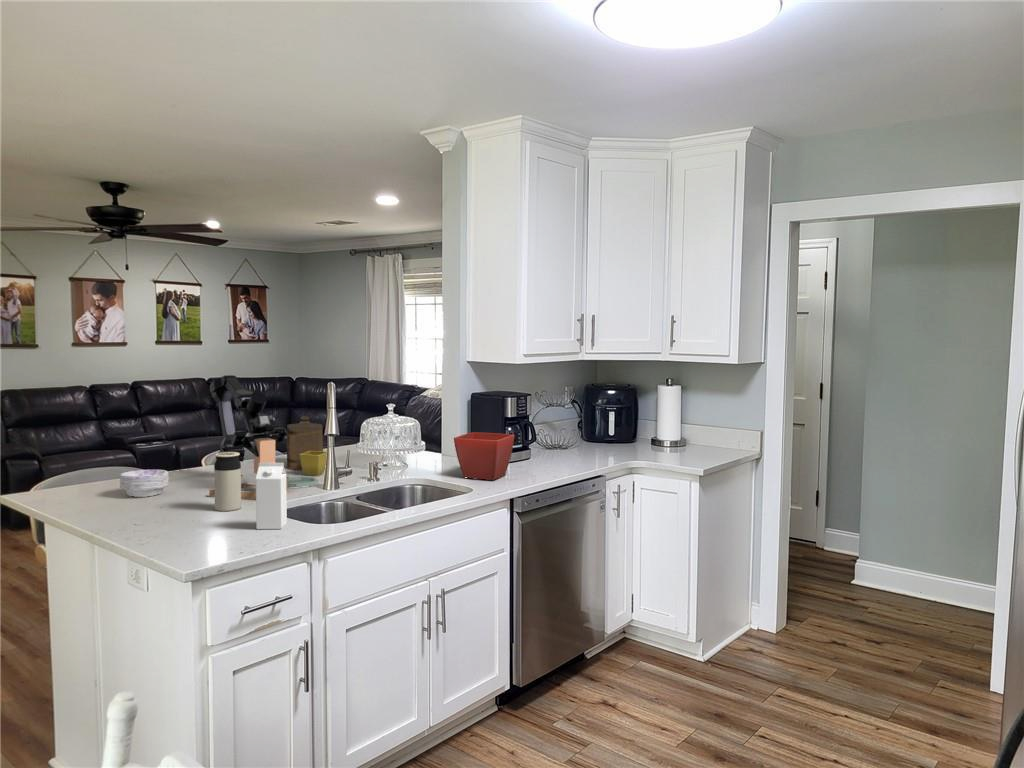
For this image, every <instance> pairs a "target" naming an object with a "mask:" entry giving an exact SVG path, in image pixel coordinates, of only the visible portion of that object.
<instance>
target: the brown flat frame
mask: <svg viewBox="0 0 1024 768" xmlns="http://www.w3.org/2000/svg"><path fill="white" fill-rule="evenodd" d="M289 478H290V477H289V476H286V488H288V487H289ZM243 486H244V487H253V488H252V491H247V490H246V491H245V490H244V491H241V500H246V501H247V500H249V501H256V483H255V484H254V483H252V484H251V483H248V482H241V488H244V487H243ZM254 486H255V487H254ZM288 489H289V488H288ZM208 494H209V495H208V496H209V497H210V498H215V488H210V489H209V493H208Z"/></svg>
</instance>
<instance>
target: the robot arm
mask: <svg viewBox="0 0 1024 768" xmlns="http://www.w3.org/2000/svg"><path fill="white" fill-rule="evenodd" d="M209 392H210V393H211V397H212V399H213V400H214V401H215V402H216V403H217V406H218V411H219V418H220V424H221V426H220V427H221V431H222V437H223V439H222V441H221V443H220V445H219V446H220V447H219V448H220V449H219V450H218V451H219V452H218V453H222V452H238V453H240V455H239V458H238V459H239V461H240V463H241V462H244V460H245V453H246V452H245V451H246V450H248V452H250V453H252V454H253V456H254V455H255V456H257V457H258V456H259V454H258V450H257V448H256V445H255V443H254V440H255V439H259V438H271V439H273V440H275V447H276V444H277V443H282V442H284V440H285V438H286V437H287V428H285V427H275V428H273V430H272V432H267V431H269V430H270V429H269V426H271V425H273V424H274V423H275V422H276V418H275V416H274V414H267V415H261V414H260V413H262V412H263V411H264V408H265V406H266V403H267V401H268V397H267V395H266V394H264V393H263V392H260V390H259V389H253V390H252V391H250V390H247V389H246V388H245V387H244V386H243V385H242V384H241V383H240V381H239V380H238V378H237V376H236V375H232V374H231V375H230V374H229V375H225V374H224V375H222V376H221V377H219V378H217V379H215V380H212V382H211V383H210V384H209ZM232 398H234V401H233V402H234V403H233V404H234V406H235V407H236V408H237V410H242V413H241V414H242V416H241V419H242V420H243V421H244V423H245V425H246V427H245V430H236V426H235V419H234V415H233V408H232V402H231V401H232ZM241 476H242V477H243V474H241Z"/></svg>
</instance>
